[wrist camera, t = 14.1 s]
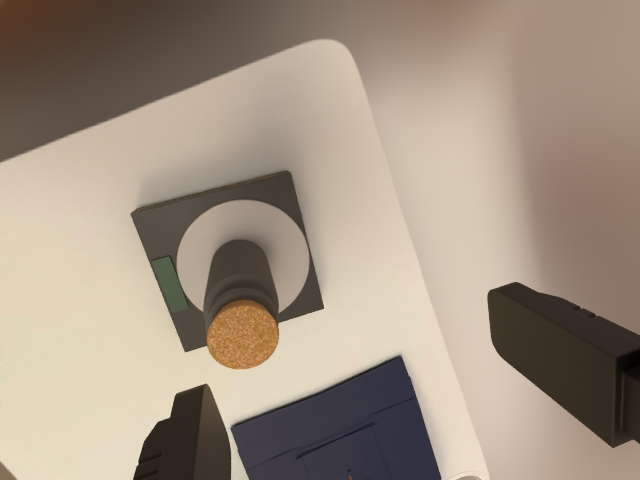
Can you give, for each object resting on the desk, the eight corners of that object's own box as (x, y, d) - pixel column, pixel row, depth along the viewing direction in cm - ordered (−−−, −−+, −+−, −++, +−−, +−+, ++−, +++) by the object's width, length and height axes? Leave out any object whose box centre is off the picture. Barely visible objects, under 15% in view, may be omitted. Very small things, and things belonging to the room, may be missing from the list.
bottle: (243, 227, 38) (250, 280, 23) (279, 268, 40) (304, 340, 25) (198, 262, 37) (176, 337, 23) (235, 302, 39) (237, 393, 25)
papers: (301, 584, 55) (305, 612, 51) (229, 415, 49) (227, 433, 45) (447, 513, 58) (460, 535, 54) (395, 346, 52) (406, 358, 48)
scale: (136, 208, 38) (128, 214, 35) (287, 170, 40) (291, 172, 37) (187, 341, 43) (184, 355, 40) (319, 299, 45) (325, 310, 42)
